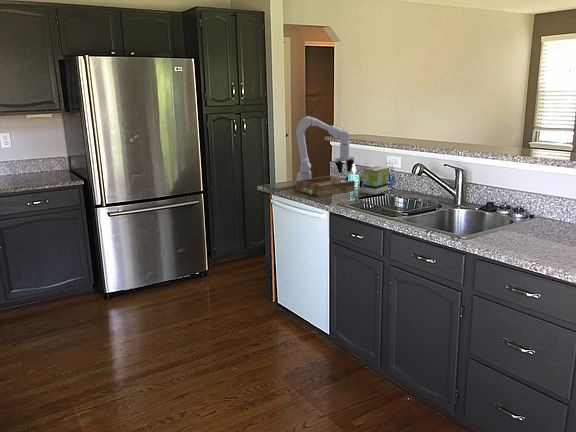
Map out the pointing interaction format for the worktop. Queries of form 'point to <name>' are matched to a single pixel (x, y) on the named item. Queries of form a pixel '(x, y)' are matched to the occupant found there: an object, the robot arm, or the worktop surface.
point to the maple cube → (336, 180)
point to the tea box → (375, 180)
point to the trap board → (324, 186)
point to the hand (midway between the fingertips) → (344, 172)
